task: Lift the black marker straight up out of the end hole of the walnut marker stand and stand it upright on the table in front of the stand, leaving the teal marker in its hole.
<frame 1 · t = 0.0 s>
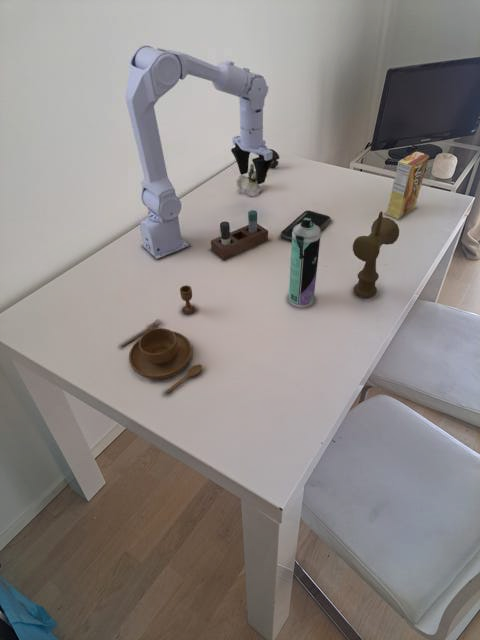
hand: (252, 178, 118), 10 cm above the table, tool pointing down, fingers open, 7 cm apart
candy box: (400, 212, 122), on the table
spray can: (300, 300, 95), on the table
artificial flower: (260, 181, 139), on the table
place setting: (177, 347, 86), on the table
marker stand: (240, 245, 111), on the table
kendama: (364, 293, 96), on the table
black marker: (226, 251, 110), resting in marker stand
phone: (306, 229, 116), on the table
teal marker: (253, 239, 113), resting in marker stand
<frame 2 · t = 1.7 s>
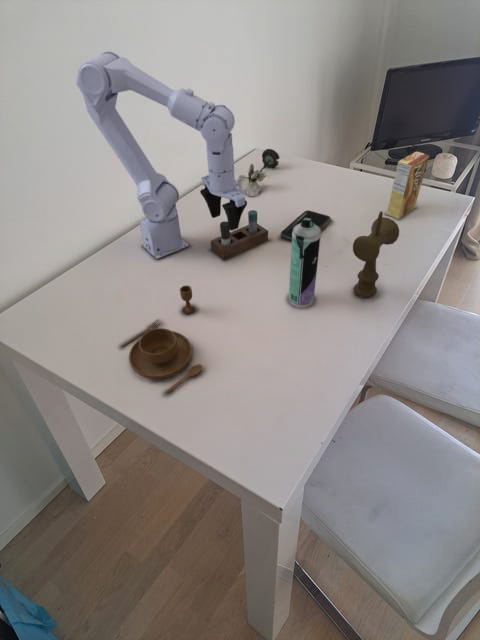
hand: (224, 222, 104), 8 cm above the table, tool pointing down, fingers open, 7 cm apart
nothing on the table moved.
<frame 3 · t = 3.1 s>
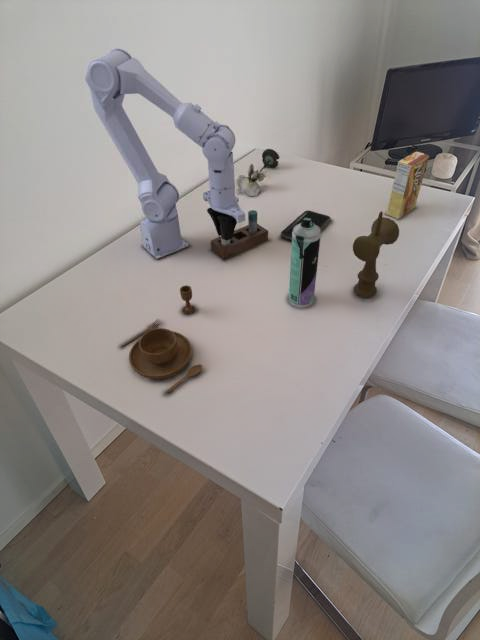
hand: (225, 236, 107), 4 cm above the table, tool pointing down, fingers closed on black marker, 2 cm apart
black marker: (226, 251, 110), resting in marker stand, touching gripper
everything else where it was.
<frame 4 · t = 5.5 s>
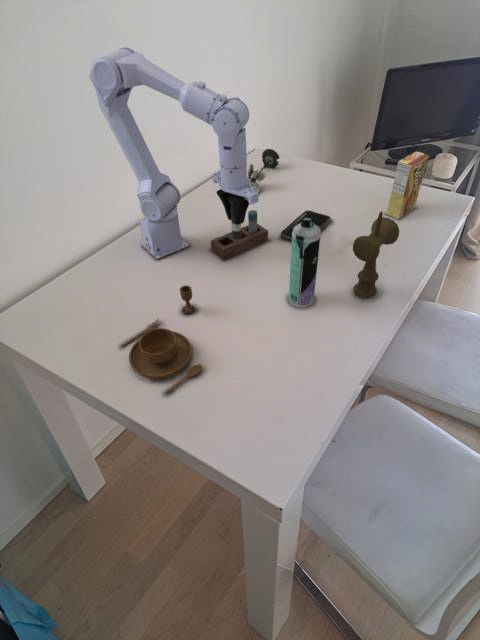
hand: (236, 220, 100), 10 cm above the table, tool pointing down, fingers closed on black marker, 2 cm apart
black marker: (236, 237, 103), point 6 cm above the table, touching gripper
everything else where it was.
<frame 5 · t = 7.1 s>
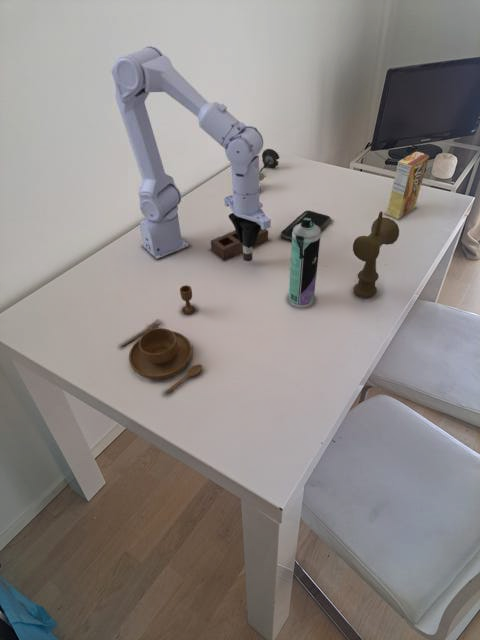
hand: (247, 243, 101), 6 cm above the table, tool pointing down, fingers closed on black marker, 2 cm apart
black marker: (247, 259, 104), point 2 cm above the table, touching gripper
everything else where it was.
when the fingers open (4 cm above the table, at t = 7.9 s): black marker stays where it is, on the table.
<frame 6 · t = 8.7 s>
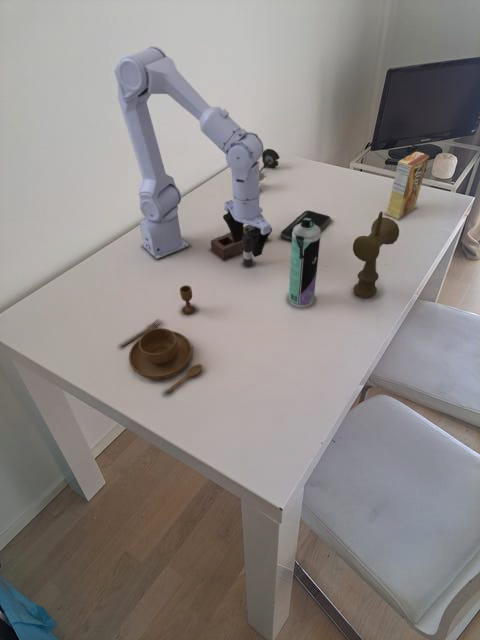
hand: (247, 247, 102), 5 cm above the table, tool pointing down, fingers open, 7 cm apart
black marker: (248, 264, 105), on the table
everything else where it was.
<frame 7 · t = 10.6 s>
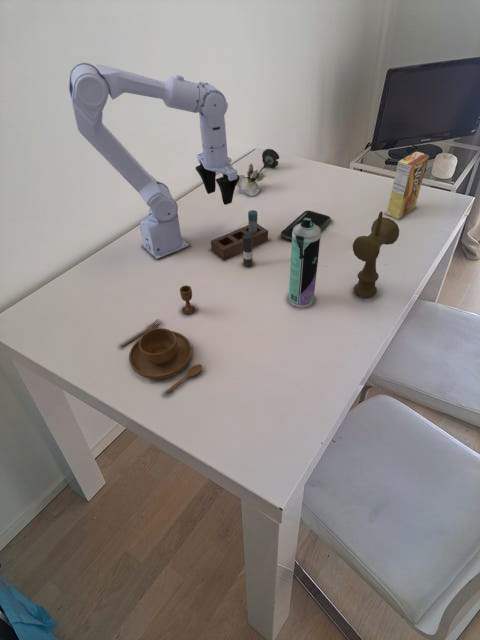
hand: (219, 197, 109), 10 cm above the table, tool pointing down, fingers open, 7 cm apart
nothing on the table moved.
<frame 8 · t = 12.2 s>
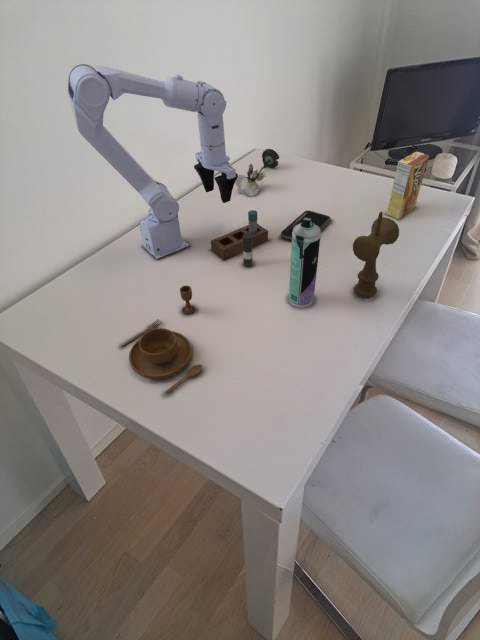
hand: (217, 196, 110), 10 cm above the table, tool pointing down, fingers open, 7 cm apart
nothing on the table moved.
at the end: black marker 0.0 cm from the target spot, on the table; black marker tilted 0°; the gripper is holding nothing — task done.
